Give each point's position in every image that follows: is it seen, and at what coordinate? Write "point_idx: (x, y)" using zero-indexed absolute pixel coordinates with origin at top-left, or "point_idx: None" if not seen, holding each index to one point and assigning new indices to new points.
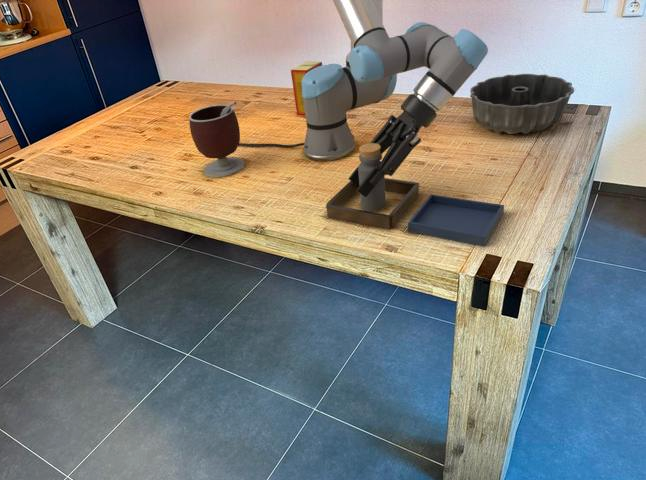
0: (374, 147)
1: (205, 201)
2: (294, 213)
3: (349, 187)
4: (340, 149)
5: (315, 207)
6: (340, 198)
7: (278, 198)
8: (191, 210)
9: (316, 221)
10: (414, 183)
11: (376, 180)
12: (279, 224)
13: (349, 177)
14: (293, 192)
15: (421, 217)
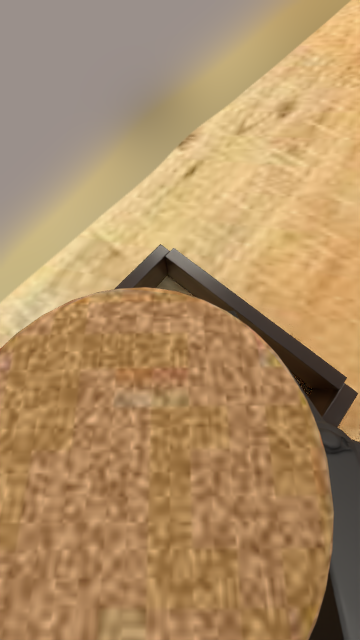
0: (58, 571)
1: (333, 61)
2: (217, 202)
3: (269, 339)
4: None
5: (229, 249)
6: (216, 301)
7: (306, 178)
8: (300, 45)
9: (158, 241)
10: None
11: None
12: (179, 171)
13: (234, 314)
14: (330, 211)
15: None
